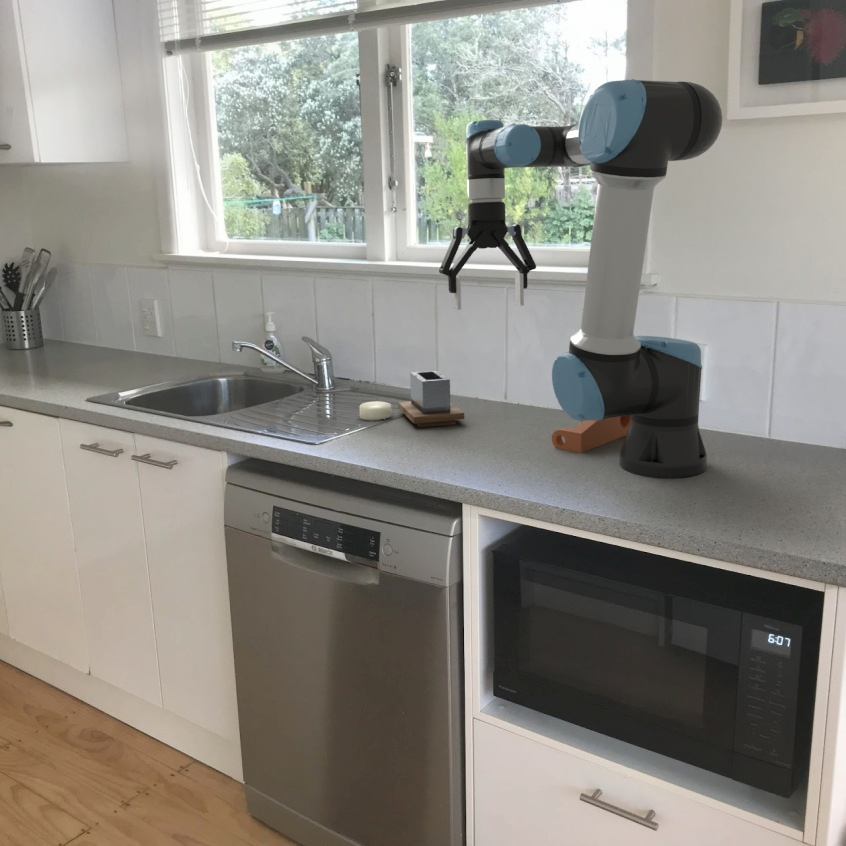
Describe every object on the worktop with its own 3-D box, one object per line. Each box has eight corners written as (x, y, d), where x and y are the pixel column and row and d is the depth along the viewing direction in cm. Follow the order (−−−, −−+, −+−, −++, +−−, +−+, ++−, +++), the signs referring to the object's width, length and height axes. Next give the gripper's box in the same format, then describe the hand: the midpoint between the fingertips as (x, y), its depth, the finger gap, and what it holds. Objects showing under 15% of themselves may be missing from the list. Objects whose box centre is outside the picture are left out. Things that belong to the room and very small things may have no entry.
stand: (464, 426, 195) (464, 412, 194) (414, 430, 193) (413, 417, 192) (445, 411, 209) (445, 398, 209) (398, 415, 207) (397, 402, 206)
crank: (601, 426, 193) (602, 389, 191) (635, 432, 188) (636, 394, 186) (546, 447, 179) (546, 407, 177) (580, 454, 174) (581, 413, 172)
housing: (437, 401, 206) (436, 370, 204) (450, 411, 196) (449, 379, 194) (411, 403, 205) (410, 372, 203) (423, 414, 194) (422, 381, 193)
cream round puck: (390, 413, 208) (390, 400, 207) (392, 422, 201) (391, 409, 200) (359, 414, 207) (359, 401, 206) (360, 423, 200) (359, 410, 200)
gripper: (536, 199, 192) (537, 302, 196) (421, 203, 185) (425, 309, 190) (551, 198, 185) (552, 304, 189) (432, 202, 178) (436, 312, 183)
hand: (488, 307), depth 190 cm, fingers open, 13 cm apart
